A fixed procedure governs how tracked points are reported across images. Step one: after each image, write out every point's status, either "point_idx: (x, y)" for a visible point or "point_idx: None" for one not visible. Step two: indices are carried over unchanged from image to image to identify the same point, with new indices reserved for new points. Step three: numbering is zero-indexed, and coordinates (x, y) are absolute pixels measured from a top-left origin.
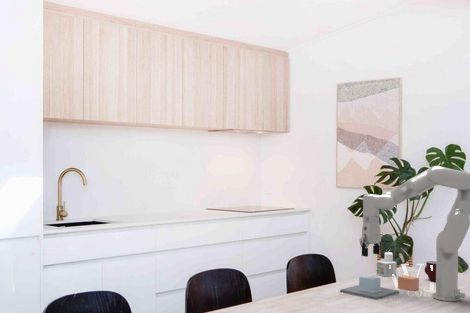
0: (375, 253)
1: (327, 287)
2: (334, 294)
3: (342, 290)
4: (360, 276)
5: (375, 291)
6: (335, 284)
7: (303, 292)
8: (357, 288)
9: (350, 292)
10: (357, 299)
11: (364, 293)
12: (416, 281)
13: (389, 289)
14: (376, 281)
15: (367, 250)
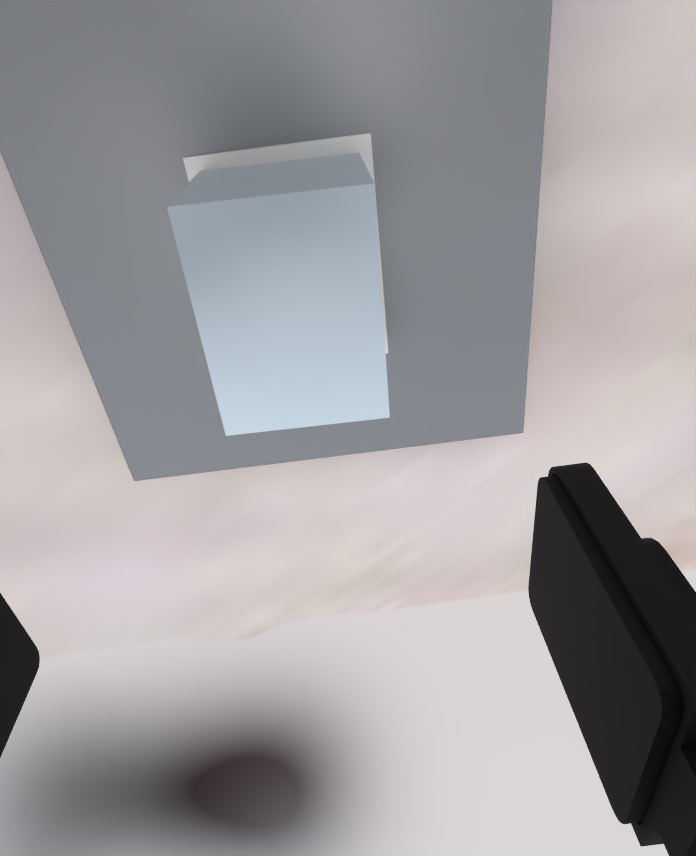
0: (5, 620)
1: (453, 563)
2: (637, 384)
3: (523, 408)
4: (365, 418)
5: (307, 158)
6: (316, 598)
7: None
8: None
9: (527, 321)
10: (689, 98)
11: (489, 177)
12: None
13: (34, 147)
14: (284, 185)
15: (689, 610)
